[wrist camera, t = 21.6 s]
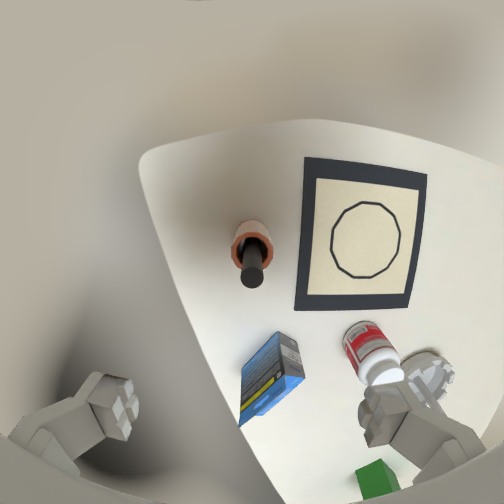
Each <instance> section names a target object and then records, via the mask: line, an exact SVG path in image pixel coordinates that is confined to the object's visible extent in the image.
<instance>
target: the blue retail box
mask: <svg viewBox="0 0 504 504" xmlns="http://www.w3.org/2000/svg"><path fill="white" fill-rule="evenodd" d="M304 379H305V374H304V369H303V365H302V361H301V357H300V353H299V349H298V345H297V342H295V341H294V340H292V339H290V338H288V337H287V336H285V335H283V334H281V333H280V332H277V333H276V334H275V335H274V336H273V337H272V338H271V339H270V340H269V341H268V342H267V343H266V344H265V345H264V346H263V347H262V348H261V350H260V351H259V352H258V353H257V354H256V355H255V356H254V357H253V358H252V359H251V360H250V361H249V362H248V363H247V364H246V365H245V366H244V367H243V368H242V378H241V404H240V419H239V425H238V428H240V427H241V426H242V425H243V424H244V423H246V422H247V421H248V420H250V419H251V418H252V417H254V416H262V415H264V414H265V413H266V412H267V411H269V410H270V409H271V408H272V407H273V406H274V405H276V404H277V403H278V402H279V401H280V400H281V399H283V398H284V397H285V396H286V395H287V394H288V393H289V392H291V391H292V390H293V389H294V388H295V387H296V386H297V385H299V384H300V383H301V382H302V381H303V380H304Z"/></svg>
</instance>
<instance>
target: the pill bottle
mask: <svg viewBox="0 0 504 504" xmlns="http://www.w3.org/2000/svg"><path fill="white" fill-rule="evenodd" d="M343 346H344V349H345V352H346V354H347V356H348V358H349V360H350V362H351V364H352V366H353V368H354V370H355V372H356V374H357V376H358V378H359V380H360V381H361V383H363V384H364V385H366V386H373V385H380V384H386V383H392V382H397V381H402V380H403V379H404V371H403V370H402V368H401V367H400V356H399V354H398V353H397V351H396V350H395V349H394V347H393V346H392V345H391V343H390V342H389V341H388V339H387V338H386V337H385V335H384V334H383V333H382V331H381V330H380V329H379V328H378V326H377V325H375V324H374V323H371V322H361V323H358V324H356V325H354V326H353V327H352V328H351V329H350V330H349V331H348V332H347V333H346V335H345V337H344V341H343Z"/></svg>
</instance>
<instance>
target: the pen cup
mask: <svg viewBox="0 0 504 504" xmlns="http://www.w3.org/2000/svg"><path fill="white" fill-rule="evenodd" d="M248 237H257V238H259V239H260V246H261V256H262V266H263V269H265V268H266V267H267V266H268V265H269V263H270V262H271V260H272V258H273V246H272V242H271V238H270V235H269V232H268V230H267V228H266V226H265V225H264V224H263V223H261V222H260V221H257V220H248V221H245V222H243V223H242V224H241V225H240V226H239V228H238V230H237V231H236V234H235V237H234V240H233V243H232V247H231V257H232V259H233V261H234V263H235V265H236V266H237V267H238V268H240V269H242V262H243V254H244V246H245V239H246V238H248Z"/></svg>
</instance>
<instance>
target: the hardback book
mask: <svg viewBox="0 0 504 504" xmlns="http://www.w3.org/2000/svg"><path fill="white" fill-rule="evenodd" d="M355 472H356V475H357V479H358V482H359V486H360V489H361V493H362V496H363V500H367V499H371V498H375V497H379V496H382V495H386V494H389V493H393V492H396V491H399V490H401V488H400V486H399V483H398V480H397V478H396V475H395V473H394V472H393V471H392V470H391V469H390V468H389V467H388V466H387V465H386V464H385V463H384V462H383V461H382V460H381V459H379V460H377V461H375V462H373V463H371V464H369V465H367V466H365V467H363V468H361V469H359V470H356V471H355Z"/></svg>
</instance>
